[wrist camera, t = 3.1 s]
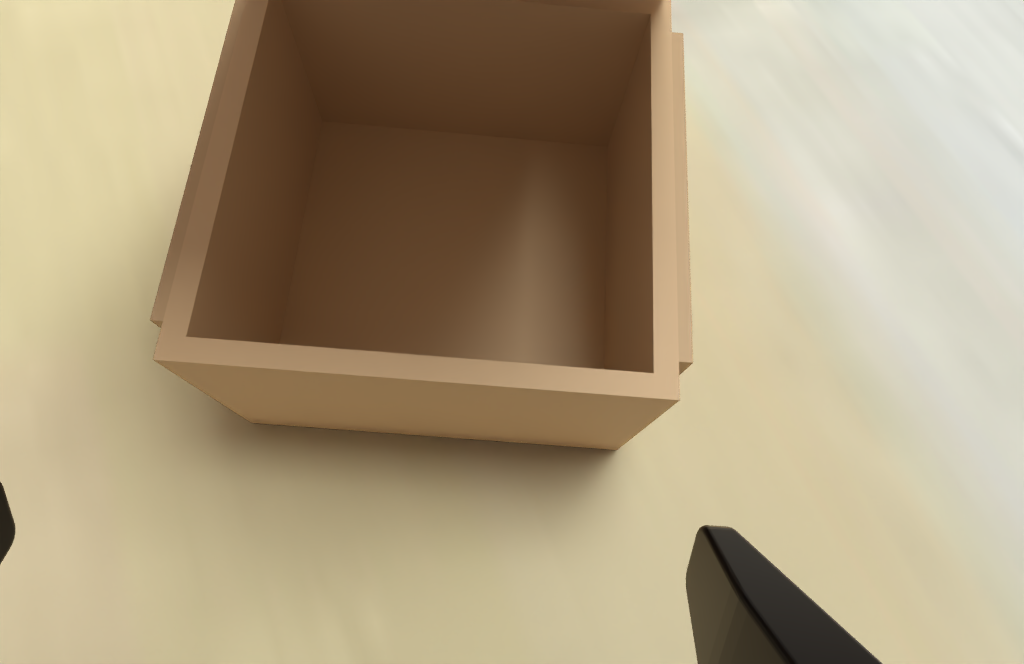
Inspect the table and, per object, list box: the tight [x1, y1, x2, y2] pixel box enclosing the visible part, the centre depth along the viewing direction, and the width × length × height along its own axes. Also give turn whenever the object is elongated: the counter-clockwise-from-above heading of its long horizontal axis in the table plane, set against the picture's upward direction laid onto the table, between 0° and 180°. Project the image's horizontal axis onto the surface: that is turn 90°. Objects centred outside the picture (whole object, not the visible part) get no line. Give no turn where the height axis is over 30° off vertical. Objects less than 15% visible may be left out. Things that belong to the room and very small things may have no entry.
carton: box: [150, 0, 693, 450], centre depth 20 cm, size 12×13×7 cm
